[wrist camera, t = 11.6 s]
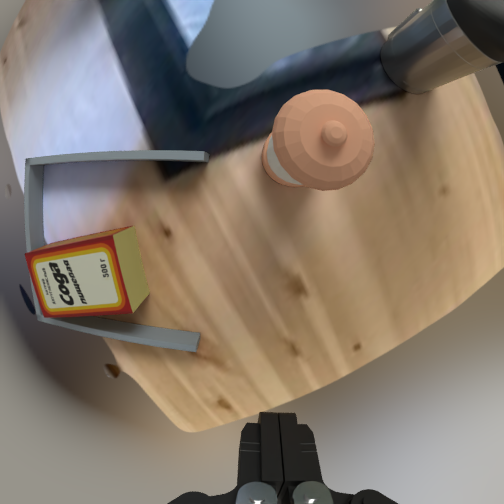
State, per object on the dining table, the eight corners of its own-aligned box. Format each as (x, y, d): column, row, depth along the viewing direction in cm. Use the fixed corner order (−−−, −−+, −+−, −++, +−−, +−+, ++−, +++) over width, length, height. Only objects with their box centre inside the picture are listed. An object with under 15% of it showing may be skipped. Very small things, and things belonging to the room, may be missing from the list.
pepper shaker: (254, 136, 33) (258, 87, 14) (311, 123, 32) (371, 70, 14) (270, 193, 35) (292, 207, 16) (327, 178, 34) (403, 180, 16)
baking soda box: (132, 313, 32) (42, 317, 32) (149, 292, 38) (64, 300, 38) (112, 234, 29) (23, 254, 30) (134, 225, 36) (49, 243, 36)
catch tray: (39, 158, 33) (25, 158, 29) (209, 154, 33) (204, 151, 30) (49, 311, 39) (38, 320, 36) (200, 338, 40) (196, 351, 36)
